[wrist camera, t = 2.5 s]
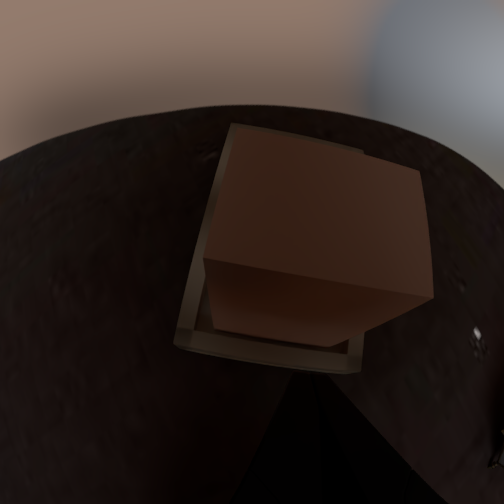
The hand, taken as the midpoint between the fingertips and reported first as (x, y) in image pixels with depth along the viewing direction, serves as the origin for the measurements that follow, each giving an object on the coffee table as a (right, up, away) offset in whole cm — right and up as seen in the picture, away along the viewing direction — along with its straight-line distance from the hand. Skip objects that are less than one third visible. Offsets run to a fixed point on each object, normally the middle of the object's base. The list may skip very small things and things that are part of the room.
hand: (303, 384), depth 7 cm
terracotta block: (0, +1, +9) cm, 9 cm away
